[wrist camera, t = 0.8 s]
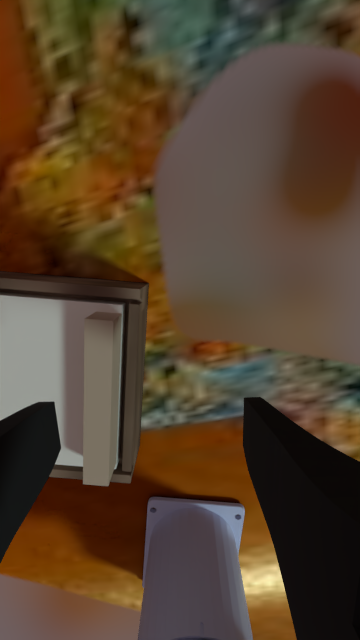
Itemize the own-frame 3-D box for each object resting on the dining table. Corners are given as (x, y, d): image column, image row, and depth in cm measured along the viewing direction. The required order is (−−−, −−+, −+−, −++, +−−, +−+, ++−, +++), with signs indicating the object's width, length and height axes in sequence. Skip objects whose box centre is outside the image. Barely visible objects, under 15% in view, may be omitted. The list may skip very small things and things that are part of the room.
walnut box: (148, 283, 20) (140, 289, 16) (139, 445, 23) (130, 483, 19) (-92, 263, 20) (-157, 265, 16) (-72, 428, 23) (-124, 462, 19)
